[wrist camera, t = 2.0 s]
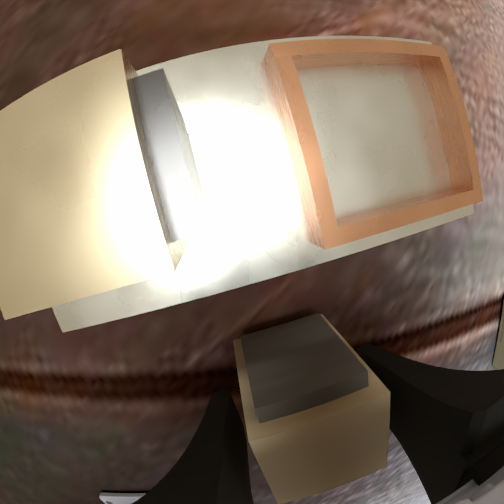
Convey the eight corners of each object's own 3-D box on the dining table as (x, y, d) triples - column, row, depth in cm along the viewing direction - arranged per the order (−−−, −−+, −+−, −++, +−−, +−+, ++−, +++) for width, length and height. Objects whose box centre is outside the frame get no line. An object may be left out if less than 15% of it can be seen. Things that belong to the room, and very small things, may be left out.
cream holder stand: (463, 211, 13) (568, 230, 6) (69, 325, 11) (-11, 415, 5) (422, 47, 11) (511, 1, 4) (18, 134, 9) (-90, 111, 3)
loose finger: (255, 406, 13) (278, 504, 8) (228, 328, 12) (242, 427, 7) (333, 382, 14) (386, 466, 8) (319, 300, 13) (390, 376, 7)
